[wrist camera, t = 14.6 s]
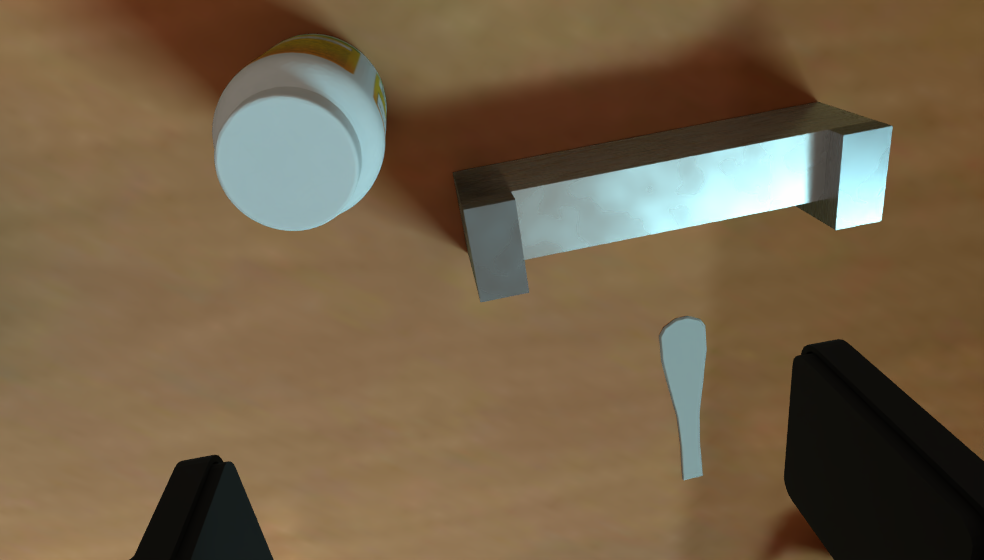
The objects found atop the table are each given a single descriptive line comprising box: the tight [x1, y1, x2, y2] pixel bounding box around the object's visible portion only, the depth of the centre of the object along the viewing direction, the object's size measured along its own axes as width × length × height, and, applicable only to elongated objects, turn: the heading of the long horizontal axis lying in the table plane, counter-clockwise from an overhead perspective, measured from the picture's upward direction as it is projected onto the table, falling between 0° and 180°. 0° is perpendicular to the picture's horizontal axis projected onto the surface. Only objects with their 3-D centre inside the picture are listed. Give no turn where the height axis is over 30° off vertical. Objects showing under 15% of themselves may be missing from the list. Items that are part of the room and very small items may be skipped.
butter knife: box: [659, 316, 706, 480], centre depth 40 cm, size 1×24×3 cm
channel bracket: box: [453, 102, 892, 302], centre depth 26 cm, size 17×16×5 cm
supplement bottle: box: [212, 34, 387, 231], centre depth 23 cm, size 5×5×10 cm
